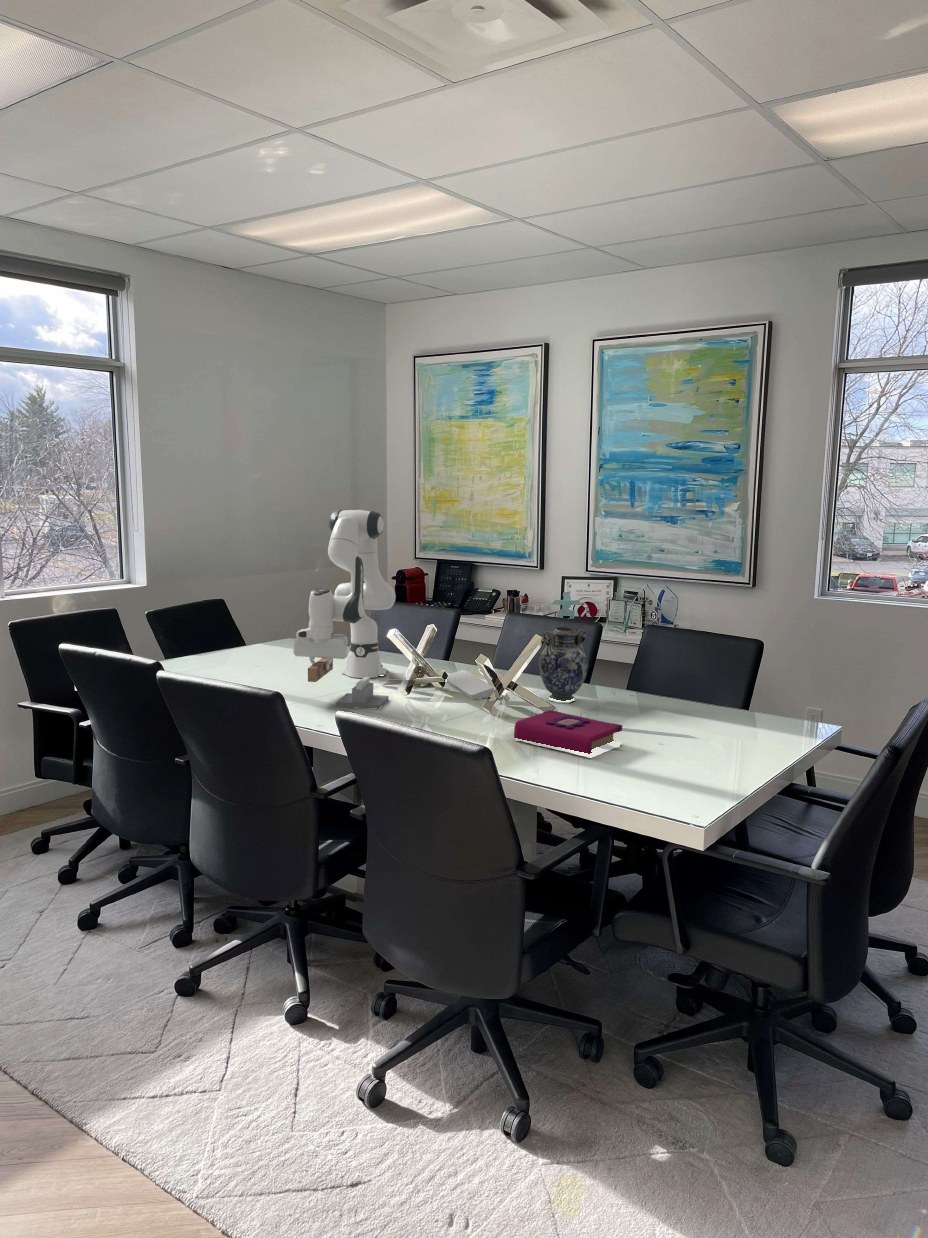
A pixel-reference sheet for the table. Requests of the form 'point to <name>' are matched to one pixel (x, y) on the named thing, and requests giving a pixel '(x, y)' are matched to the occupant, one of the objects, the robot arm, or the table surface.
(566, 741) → the book
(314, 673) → the brown wooden bar
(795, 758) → the table surface
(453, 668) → the table surface
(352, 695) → the stand
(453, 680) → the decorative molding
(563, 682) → the decorative vase
